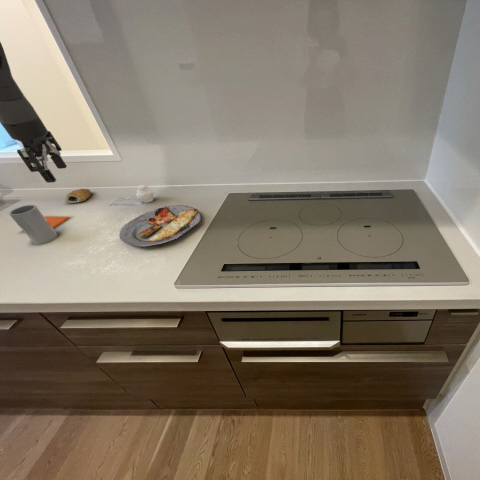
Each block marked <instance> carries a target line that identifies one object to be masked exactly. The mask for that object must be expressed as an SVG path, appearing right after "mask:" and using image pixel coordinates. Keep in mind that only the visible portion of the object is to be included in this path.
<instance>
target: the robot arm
mask: <svg viewBox="0 0 480 480" xmlns="http://www.w3.org/2000/svg"><path fill="white" fill-rule="evenodd" d="M0 124H1V126H2V127H3V128H4V130H5V132H6V133H7V134H8V136H9V138H11V139H12V140H14V141H18V142H20V143H21V144H22V146H23V148H21V149H20V148H19V149H16V153H17V154H18V155H19V157H20V158H21V161H23V163H24V164H25V165H26V167H27V169H28V170H29V172H31V173H35V172H36V173H37V172H38V173H39V175H40V177H42V179H43V180H44V181H45V182H46V183H48V184H49V183H55V182H57V178H56V177H55V176H54V174H53V173H52V171H51V169H50V168H49V167H48V162H49V158H48V156H49V157H50V159H51V161H52V162H53V164H55V167H56V168H57V169H59V170H61V169H66V168H67V167H68V166H67V164H66V163H65V161H64V159H63V158H62V156H61V155H62V154H61V152H62V150H63V149H62V147H61V146H60V144H59V143H58V141H57V140H56V138H55V137H54V135H53V133H52V132H51V131H50V130H48V129H47V127H46V125H45V124H44V121H42V119H41V118H40V116H39V114H38V113H37V111H36V110H35V108H34V106H33V105H32V104H31V103H30V101H29V100H28V99H27V97H26V96H25V95H24V93H23V91H22V90H21V88H20V87H19V84H18V83H17V82H16V81H15V79H14V77H13V75H12V71H11V67H10V65H9V62H8V58H7V55H6V52H5V49H4V47H3V44H2V42H1V41H0Z"/></svg>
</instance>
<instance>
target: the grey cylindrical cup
mask: <svg viewBox="0 0 480 480" xmlns="http://www.w3.org/2000/svg"><path fill="white" fill-rule="evenodd" d="M8 215H9V216H10V218H12V220H13V221H14V222H15V223H16V224H17V225H18V227H19V228H20V229H21V231H22V230H23V231H24V232H23V231H22V232H23V233H24V234H25V235H26V236H27V237H28V238H29V240H30V241H31V242H32V243H33V244H35V245H43V244H46V243H49V242H52V241H53V240H55V239H56V238H57V237H58V233H57V232H56V230H55V228H52V226H51V225H50V224H49V222H48V221H47V220H46V219H45V215H43V213H42V212H41V211H40V209H39V208H38V206H36V204H35V205H34V204H27V205H22V206H19V207H16V208H14V209H12V210H10V212H8Z"/></svg>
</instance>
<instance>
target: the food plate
mask: <svg viewBox="0 0 480 480" xmlns="http://www.w3.org/2000/svg"><path fill="white" fill-rule="evenodd" d="M201 220H202V215H201V211H200V210H199V209H198V208H195V207H193V206H189V205H184V204H178V205H167V206H166V205H164V206H162V207H159V208H155V209H153V210H150V211H146V212H144V213H142V214H140V215H138V216H137V217H136V218H134V219H132V220H130V221H128V223H125V224H124V225H123V226H122V227H121V229H120V230H119V234H118V235H119V239H120V240H121V241H122V242H123V243H125V244H128V245H132V246H137V247H149V246H157V245H161V244H165V243H167V242H171V241H174V240H175V239H179V238H180V237H181V236H183V235H184V234H186V233H187V232H188V231H190V230H191V229H192V228H194V227H195V226H196V225H197V224H199V223H200V222H201Z"/></svg>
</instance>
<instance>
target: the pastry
mask: <svg viewBox="0 0 480 480" xmlns="http://www.w3.org/2000/svg"><path fill="white" fill-rule="evenodd" d="M91 195H92V192H91V190H90V189H89V188H80V189H76V190H72V191H70V192H68V193H66V196H65V202H66V203H68V204H76V203H82V202H84V201H86V200H87V199H89V198H90V196H91Z"/></svg>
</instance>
